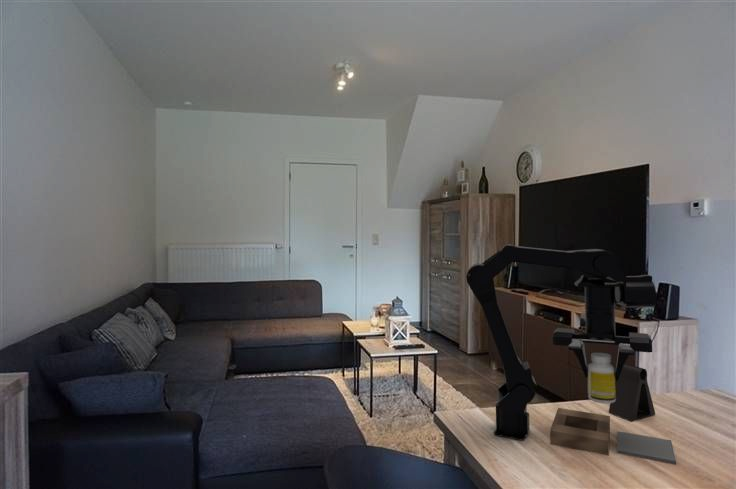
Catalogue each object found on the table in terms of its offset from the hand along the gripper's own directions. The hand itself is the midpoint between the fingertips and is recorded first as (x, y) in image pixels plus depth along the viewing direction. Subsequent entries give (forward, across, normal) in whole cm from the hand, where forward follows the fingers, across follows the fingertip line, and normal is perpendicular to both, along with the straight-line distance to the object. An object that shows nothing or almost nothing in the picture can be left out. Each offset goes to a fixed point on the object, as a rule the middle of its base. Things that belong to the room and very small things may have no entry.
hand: (601, 378), depth 97 cm
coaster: (+13, -8, 0) cm, 15 cm away
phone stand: (+14, -6, -19) cm, 24 cm away
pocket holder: (+13, +4, 0) cm, 14 cm away
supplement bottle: (+5, 0, 0) cm, 5 cm away
